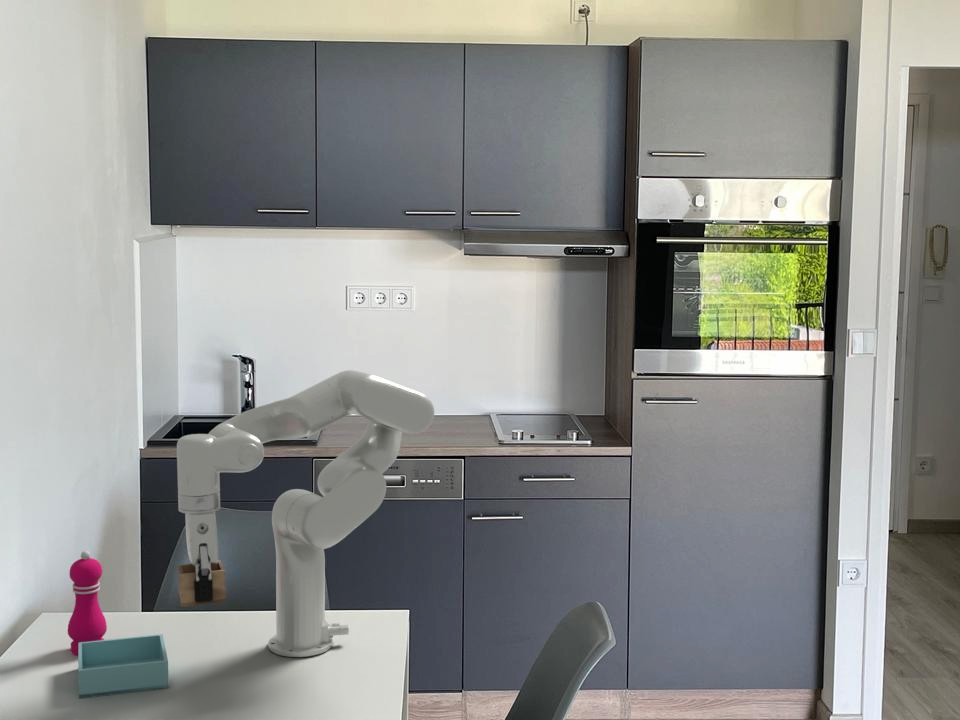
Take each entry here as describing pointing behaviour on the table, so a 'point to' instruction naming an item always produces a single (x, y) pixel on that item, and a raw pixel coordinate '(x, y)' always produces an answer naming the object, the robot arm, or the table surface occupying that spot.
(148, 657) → the big crate
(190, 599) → the small crate
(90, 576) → the pepper mill
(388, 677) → the table surface
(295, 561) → the robot arm
